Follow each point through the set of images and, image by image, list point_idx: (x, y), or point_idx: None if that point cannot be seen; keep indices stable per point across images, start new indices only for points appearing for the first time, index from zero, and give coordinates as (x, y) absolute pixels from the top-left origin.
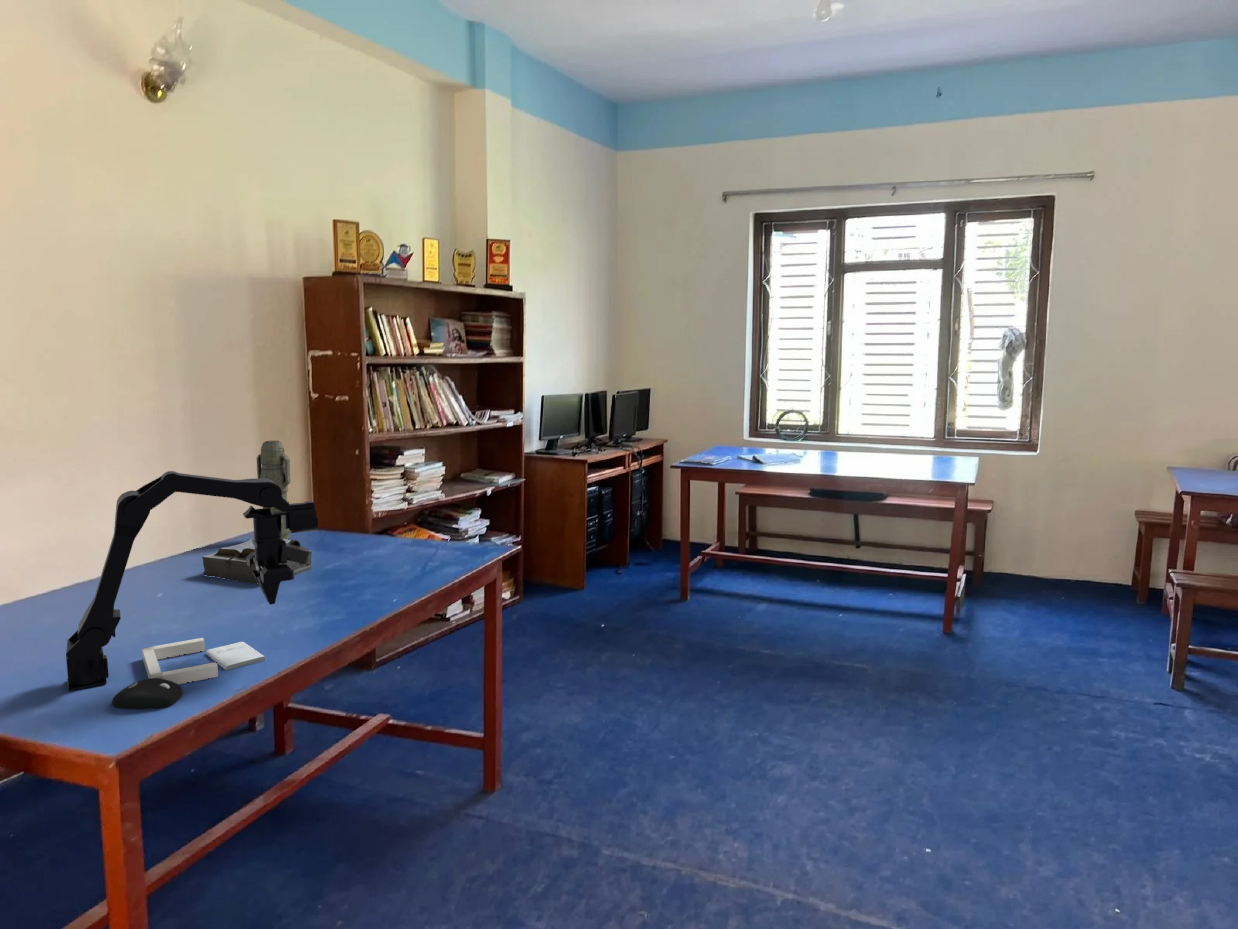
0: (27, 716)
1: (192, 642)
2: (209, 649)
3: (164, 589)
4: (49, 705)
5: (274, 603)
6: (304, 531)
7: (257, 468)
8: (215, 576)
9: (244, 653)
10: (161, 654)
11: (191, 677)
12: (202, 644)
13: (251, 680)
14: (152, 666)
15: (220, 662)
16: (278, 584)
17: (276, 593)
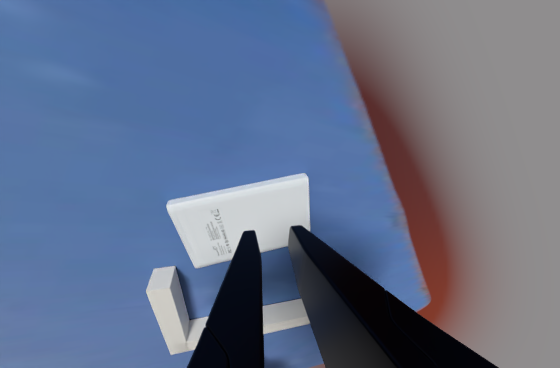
0: (301, 364)
1: (174, 303)
2: (195, 265)
3: None
4: (286, 360)
5: (299, 226)
6: None
7: None
8: None
9: (263, 211)
10: (186, 322)
11: None
12: (172, 282)
13: (378, 205)
14: (274, 328)
15: (281, 247)
16: (480, 365)
17: (359, 274)
